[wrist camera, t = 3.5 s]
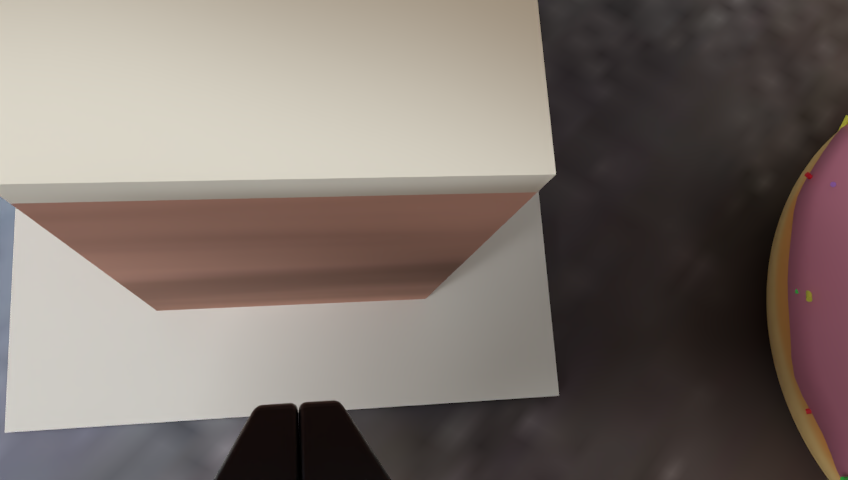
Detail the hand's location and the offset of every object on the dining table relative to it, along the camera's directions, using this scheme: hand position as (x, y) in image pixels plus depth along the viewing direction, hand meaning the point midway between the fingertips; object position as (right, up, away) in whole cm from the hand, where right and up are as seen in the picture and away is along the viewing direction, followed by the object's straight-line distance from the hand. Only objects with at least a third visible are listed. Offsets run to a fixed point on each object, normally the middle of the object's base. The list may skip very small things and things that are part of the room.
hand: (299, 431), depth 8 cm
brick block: (-1, +3, +7) cm, 8 cm away
